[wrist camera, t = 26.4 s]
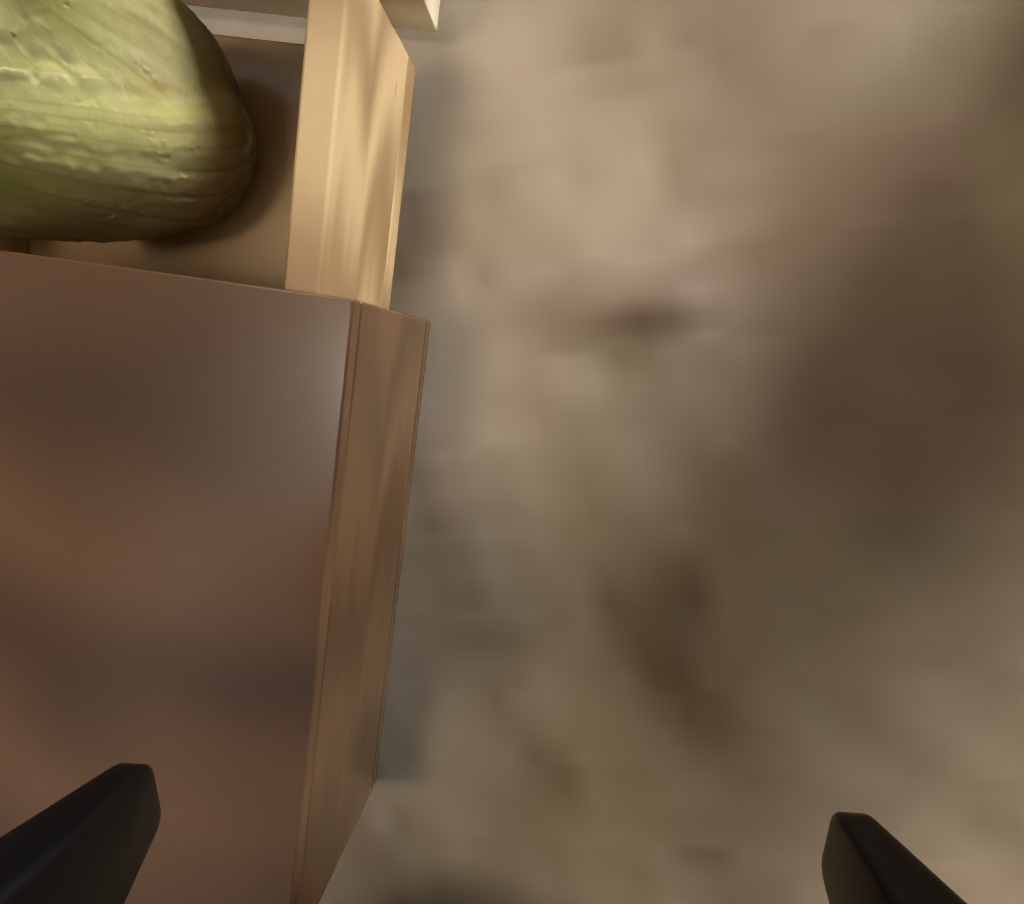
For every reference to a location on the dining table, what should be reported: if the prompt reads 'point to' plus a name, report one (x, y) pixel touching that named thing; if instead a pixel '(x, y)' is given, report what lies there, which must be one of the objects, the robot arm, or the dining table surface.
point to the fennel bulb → (116, 122)
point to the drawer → (303, 158)
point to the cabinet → (201, 560)
